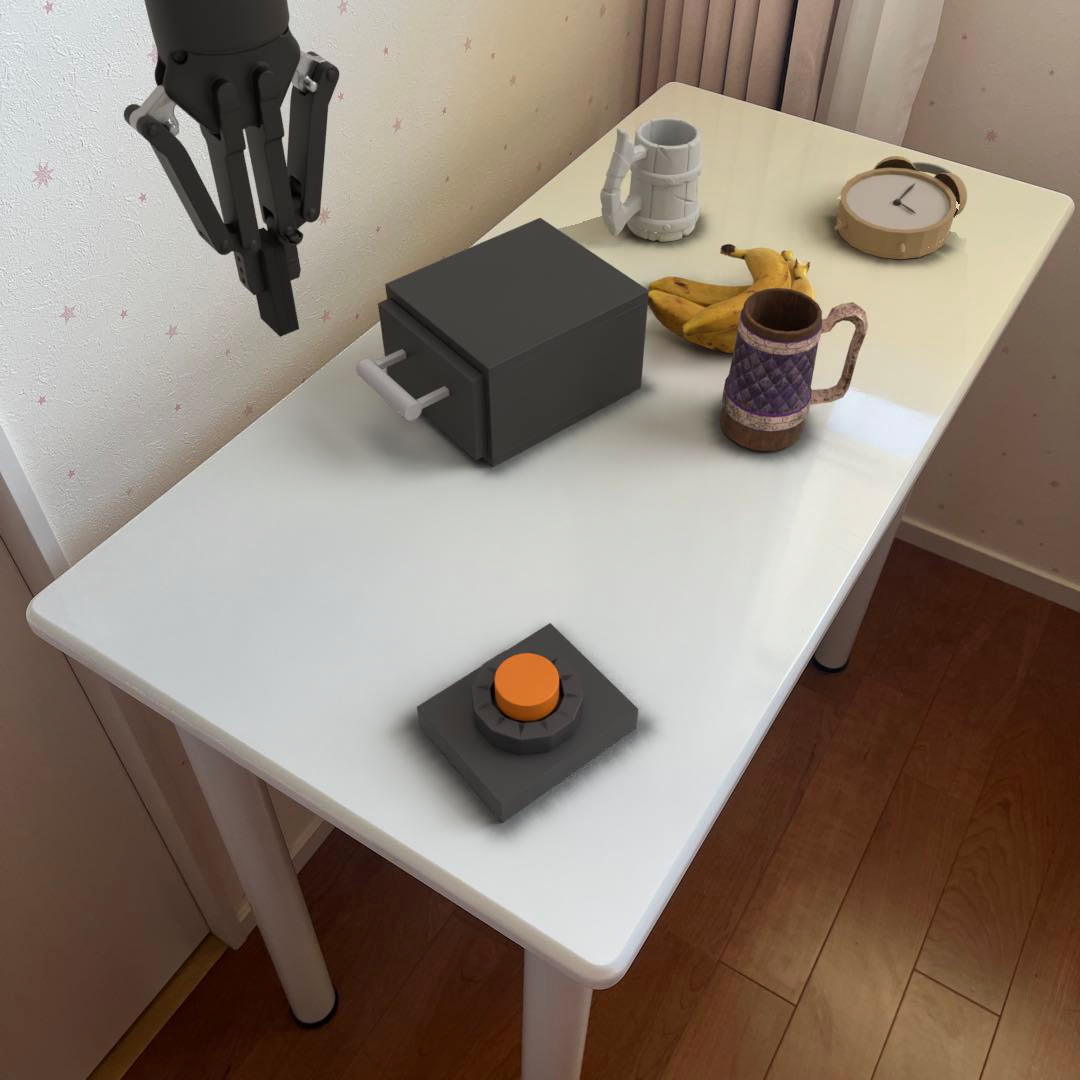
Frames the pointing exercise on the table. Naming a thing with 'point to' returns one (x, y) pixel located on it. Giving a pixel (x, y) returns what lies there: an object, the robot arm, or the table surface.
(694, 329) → the banana
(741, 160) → the table surface
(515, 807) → the control block
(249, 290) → the robot arm
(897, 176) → the alarm clock
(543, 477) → the table surface
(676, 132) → the mug
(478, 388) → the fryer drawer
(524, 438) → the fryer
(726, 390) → the mug
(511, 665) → the button
